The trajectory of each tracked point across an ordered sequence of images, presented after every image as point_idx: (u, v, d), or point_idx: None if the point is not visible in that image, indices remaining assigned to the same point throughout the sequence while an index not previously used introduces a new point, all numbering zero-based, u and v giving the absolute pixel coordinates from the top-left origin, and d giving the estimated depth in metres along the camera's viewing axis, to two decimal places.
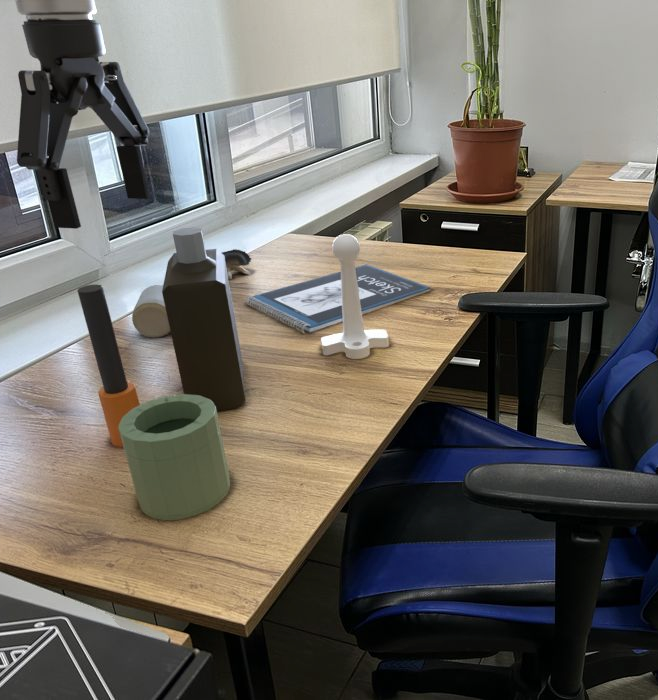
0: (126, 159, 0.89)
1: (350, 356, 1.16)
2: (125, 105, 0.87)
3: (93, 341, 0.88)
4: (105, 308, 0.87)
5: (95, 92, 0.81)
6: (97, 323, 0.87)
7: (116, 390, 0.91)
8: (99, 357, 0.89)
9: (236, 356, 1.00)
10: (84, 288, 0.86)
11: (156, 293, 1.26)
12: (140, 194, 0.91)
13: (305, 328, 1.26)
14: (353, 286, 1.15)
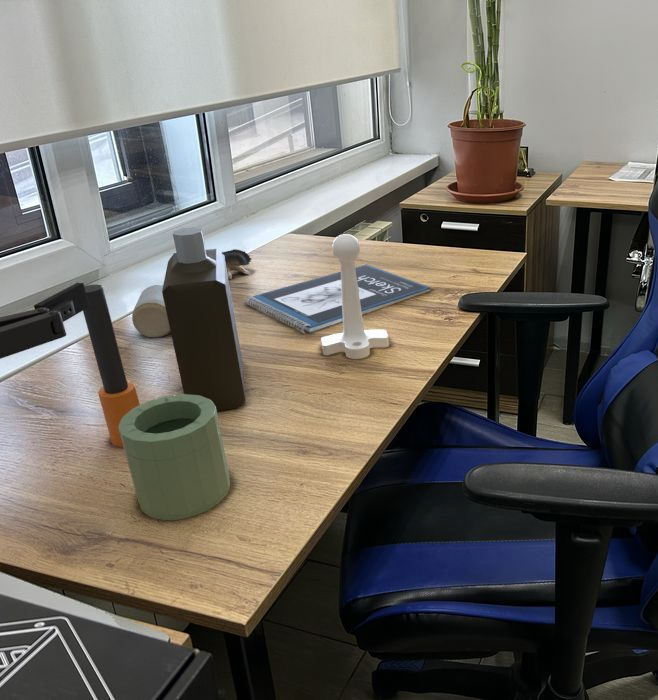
0: None
1: (350, 356, 1.16)
2: None
3: (93, 341, 0.88)
4: (105, 308, 0.87)
5: None
6: (97, 323, 0.87)
7: (116, 390, 0.91)
8: (99, 357, 0.89)
9: (236, 356, 1.00)
10: None
11: (156, 293, 1.26)
12: None
13: (305, 328, 1.26)
14: (353, 286, 1.15)
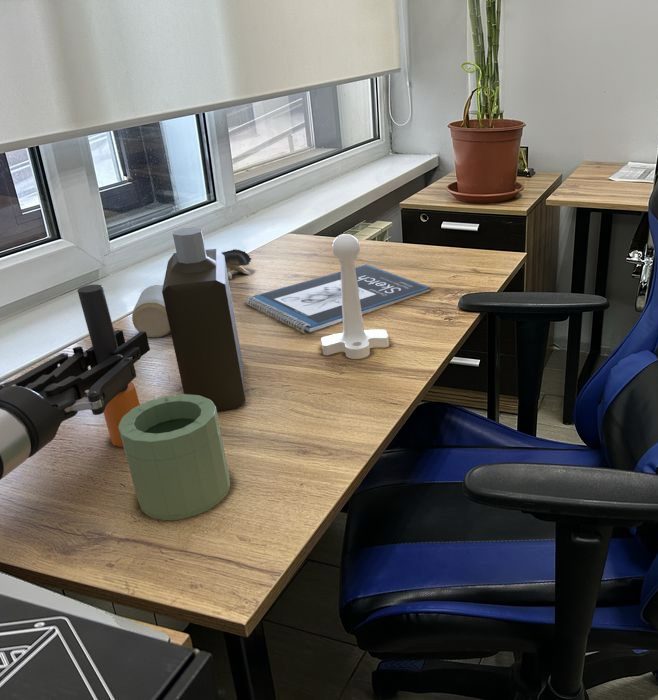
0: None
1: (350, 356, 1.16)
2: None
3: (93, 341, 0.88)
4: (105, 308, 0.87)
5: None
6: (97, 323, 0.87)
7: None
8: (99, 357, 0.89)
9: (236, 356, 1.00)
10: (84, 288, 0.86)
11: (156, 293, 1.26)
12: None
13: (305, 328, 1.26)
14: (353, 286, 1.15)
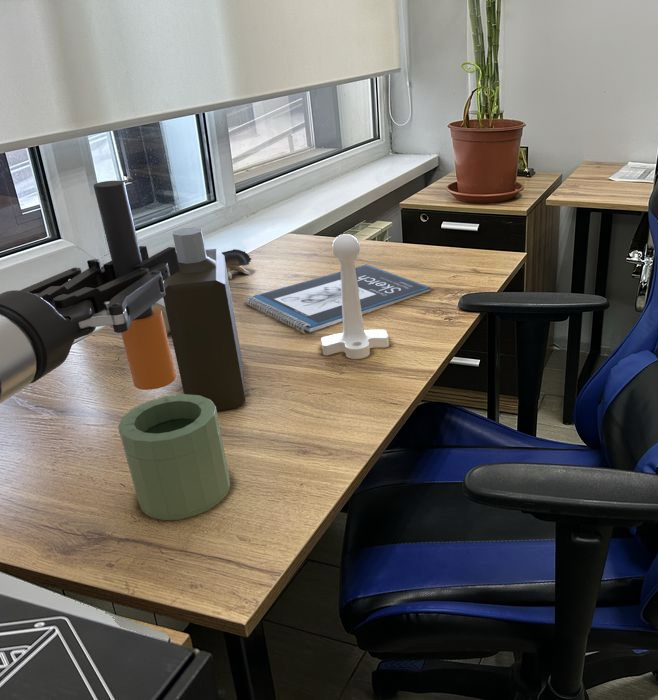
0: None
1: (350, 356, 1.16)
2: None
3: (112, 251, 0.71)
4: (127, 210, 0.70)
5: None
6: (117, 227, 0.70)
7: (140, 315, 0.74)
8: (119, 272, 0.72)
9: (236, 356, 1.00)
10: (102, 183, 0.69)
11: None
12: None
13: (305, 328, 1.26)
14: (353, 286, 1.15)
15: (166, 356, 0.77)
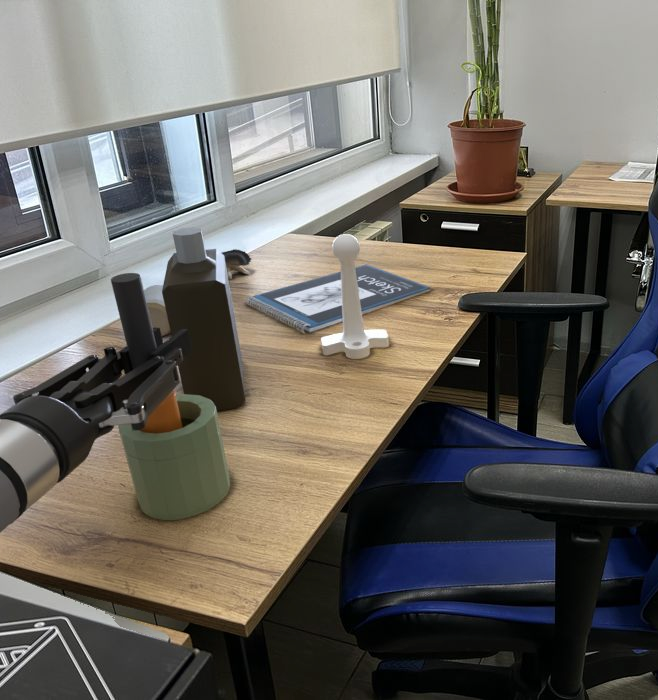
0: None
1: (350, 356, 1.16)
2: None
3: (128, 340, 0.74)
4: (143, 301, 0.73)
5: None
6: (133, 319, 0.73)
7: None
8: (135, 360, 0.75)
9: (236, 356, 1.00)
10: (119, 277, 0.72)
11: (156, 293, 1.26)
12: None
13: (305, 328, 1.26)
14: (353, 286, 1.15)
15: None
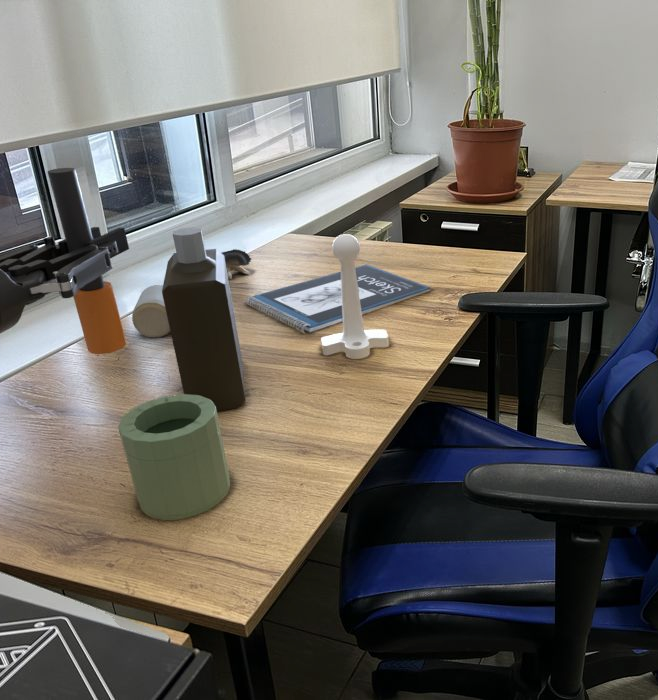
0: None
1: (350, 356, 1.16)
2: None
3: (65, 230, 0.81)
4: (78, 193, 0.80)
5: None
6: (69, 208, 0.80)
7: (91, 287, 0.84)
8: (72, 248, 0.82)
9: (236, 356, 1.00)
10: (55, 170, 0.79)
11: (156, 293, 1.26)
12: None
13: (305, 328, 1.26)
14: (353, 286, 1.15)
15: (116, 324, 0.87)
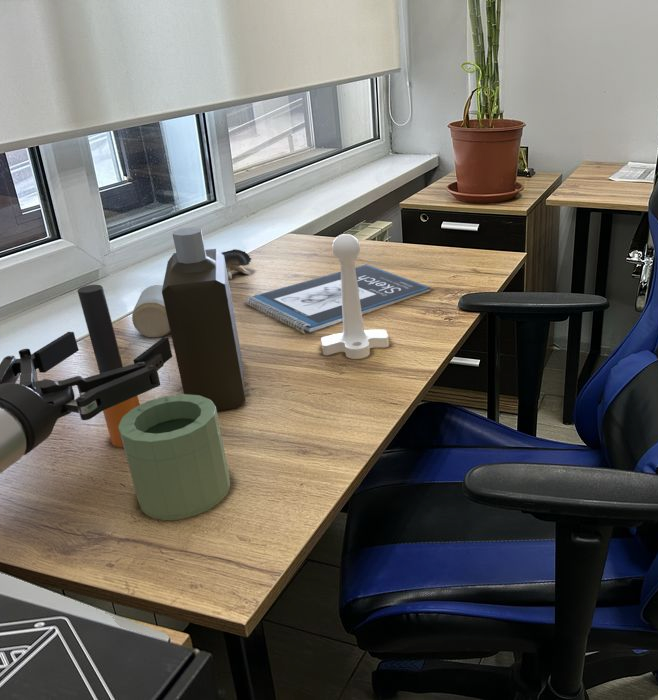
0: None
1: (350, 356, 1.16)
2: None
3: (93, 341, 0.88)
4: (105, 308, 0.87)
5: None
6: (97, 323, 0.87)
7: None
8: (99, 357, 0.89)
9: (236, 356, 1.00)
10: (84, 288, 0.86)
11: (156, 293, 1.26)
12: None
13: (305, 328, 1.26)
14: (353, 286, 1.15)
15: None
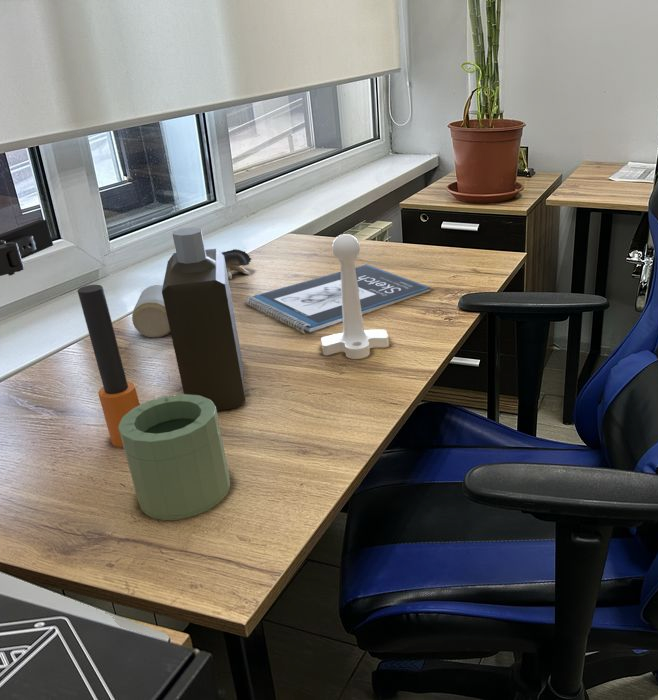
0: None
1: (350, 356, 1.16)
2: None
3: (93, 341, 0.88)
4: (105, 308, 0.87)
5: None
6: (97, 323, 0.87)
7: (116, 390, 0.91)
8: (99, 357, 0.89)
9: (236, 356, 1.00)
10: (84, 288, 0.86)
11: (156, 293, 1.26)
12: None
13: (305, 328, 1.26)
14: (353, 286, 1.15)
15: None
